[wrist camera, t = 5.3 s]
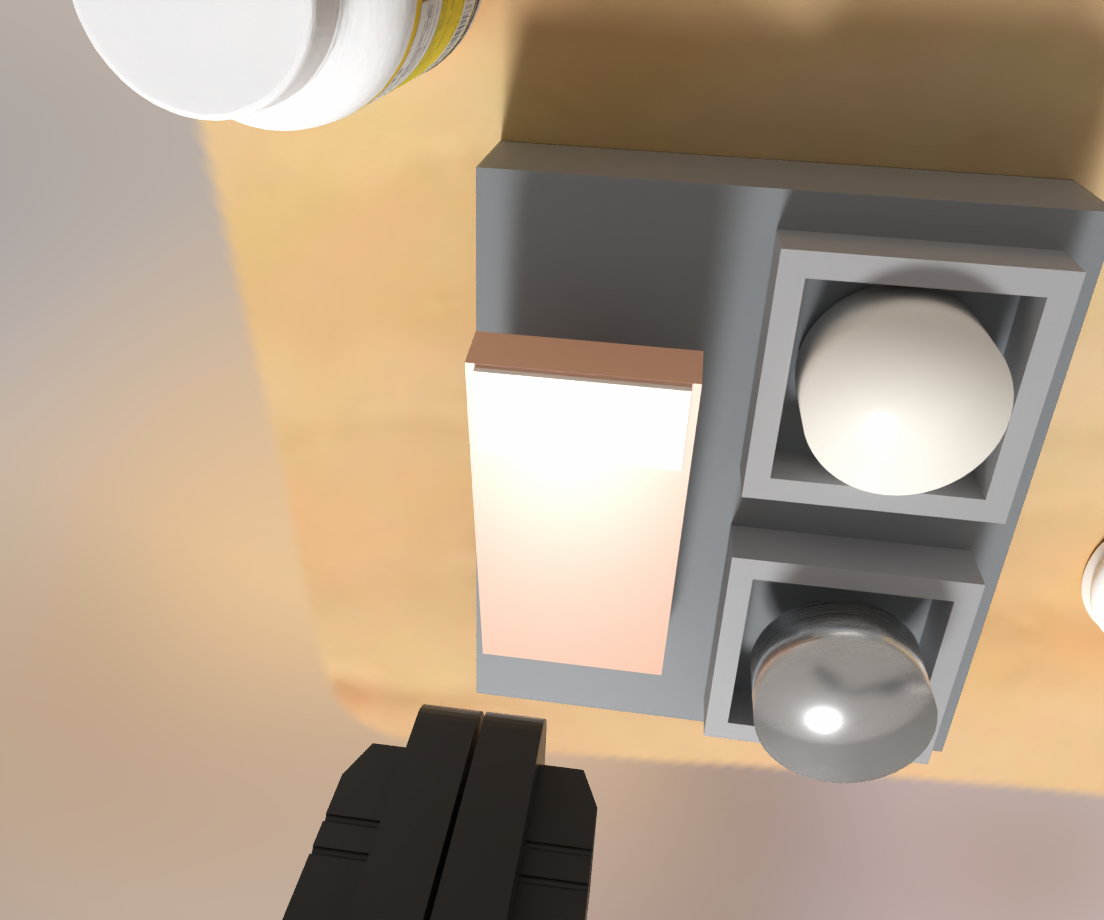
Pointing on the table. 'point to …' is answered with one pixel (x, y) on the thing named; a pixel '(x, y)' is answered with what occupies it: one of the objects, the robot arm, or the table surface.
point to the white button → (901, 390)
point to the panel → (785, 383)
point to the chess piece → (1094, 586)
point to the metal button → (841, 692)
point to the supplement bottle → (272, 53)
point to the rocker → (579, 494)
